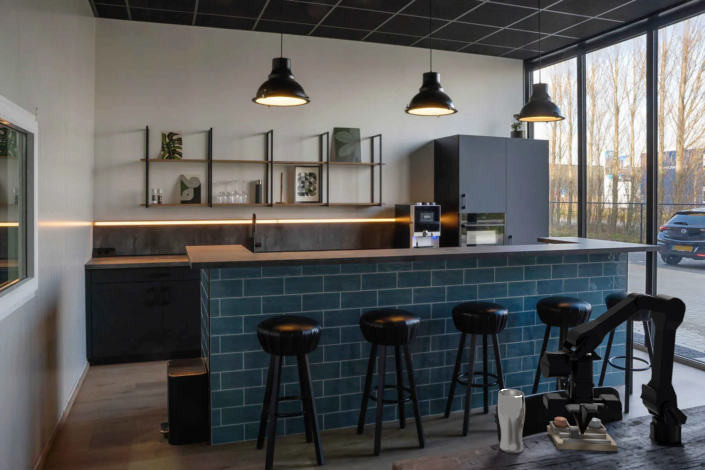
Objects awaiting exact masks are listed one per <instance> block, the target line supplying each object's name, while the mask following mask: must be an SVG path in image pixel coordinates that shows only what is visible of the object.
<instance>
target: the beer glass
mask: <svg viewBox="0 0 705 470" xmlns="http://www.w3.org/2000/svg"><path fill="white" fill-rule="evenodd" d="M525 400H526V399H525V393H524V392H523V391H521V390H519V389H513V388H505V389H504V388H503V389H500V390H499V391H498V397H497V415H498V420H499V422H498V423H499V426H500V435H501V436H500V444H499V447H500V448H499V449H500V450H501V451H503V452H505V453H508V454H520V453H522V452H523V451H524V450H525V449H524V443H523V429H524V423H525V419H526V418H525V417H526V402H525Z"/></svg>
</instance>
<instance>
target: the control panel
mask: <svg viewBox="0 0 705 470" xmlns="http://www.w3.org/2000/svg"><path fill="white" fill-rule="evenodd" d="M569 427H577V428H578V426H577V425H574V426H573V425H570V423H569V422H568V421H567V426H566V427H558V426H556V425H555V420H554V421H553V420H551V421H549V425H546V429H547V430H546V431H547V432H548V434H549V435H550V434H551V435H552V438H553V440H554V441H553V440H552V441H553V443H554V442H555V443H554V445H555V444H556V445H555V447H556V448H557V449H558V450H574V451H575V450H577V451H578V450H580V451H602V452H603V451H605V452H607V451H609V452H618V449H619V448H618V446H619V445H618V444H617V442H615V440H614V439H613V438H612V437H611V435H610V434H609V433H608V432H607V428H606V427H605V426H604V425H603V423H601V427H600V428H593V427H590V426H588V427H587V429H586V431H585V433H584V434H580V432H579V439H572V438H569ZM578 430H579V429H578ZM552 438H551V439H552Z"/></svg>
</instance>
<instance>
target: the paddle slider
mask: <svg viewBox="0 0 705 470" xmlns="http://www.w3.org/2000/svg"><path fill="white" fill-rule="evenodd" d="M569 438H572V439H579V430H578V428H577V427H569Z"/></svg>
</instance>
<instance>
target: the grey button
mask: <svg viewBox="0 0 705 470" xmlns="http://www.w3.org/2000/svg"><path fill="white" fill-rule="evenodd" d="M601 424H602V420H601V419H599V418H596V417H593V419H592V420H591V422H590V423H589V425H588V426H590V427H593V428H600V427H601Z"/></svg>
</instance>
